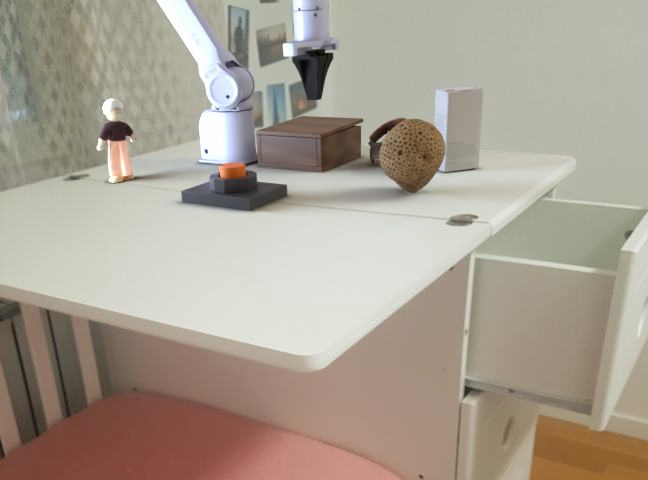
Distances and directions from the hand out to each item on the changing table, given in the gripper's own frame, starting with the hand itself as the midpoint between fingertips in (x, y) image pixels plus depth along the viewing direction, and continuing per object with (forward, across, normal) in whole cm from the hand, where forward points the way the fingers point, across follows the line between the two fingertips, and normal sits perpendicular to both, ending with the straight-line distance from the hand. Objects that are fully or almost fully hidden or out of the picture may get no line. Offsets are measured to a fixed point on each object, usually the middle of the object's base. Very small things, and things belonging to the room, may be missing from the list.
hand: (314, 99), depth 120 cm
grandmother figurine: (+10, -24, +23) cm, 35 cm away
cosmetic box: (+10, +2, -25) cm, 27 cm away
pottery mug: (+10, +2, -15) cm, 18 cm away
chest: (+10, -1, 0) cm, 10 cm away
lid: (+5, -1, 0) cm, 5 cm away
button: (+7, -28, -3) cm, 29 cm away
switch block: (+10, -28, -3) cm, 30 cm away
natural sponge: (+10, -16, -24) cm, 31 cm away
